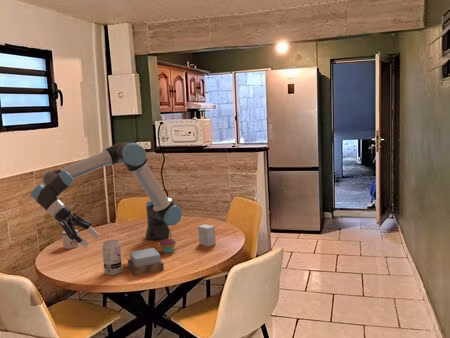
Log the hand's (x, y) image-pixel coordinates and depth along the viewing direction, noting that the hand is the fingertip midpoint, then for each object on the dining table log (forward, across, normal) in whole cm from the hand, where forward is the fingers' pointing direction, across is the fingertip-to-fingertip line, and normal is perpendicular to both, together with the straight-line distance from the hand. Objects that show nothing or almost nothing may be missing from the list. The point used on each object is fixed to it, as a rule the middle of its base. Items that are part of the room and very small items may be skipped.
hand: (92, 241), depth 210 cm
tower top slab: (+25, -6, +8) cm, 27 cm away
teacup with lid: (-10, -42, -33) cm, 54 cm away
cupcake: (+31, -30, +9) cm, 44 cm away
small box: (+45, -41, +23) cm, 66 cm away
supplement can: (+17, -1, -5) cm, 18 cm away
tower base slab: (+28, -5, +5) cm, 29 cm away
